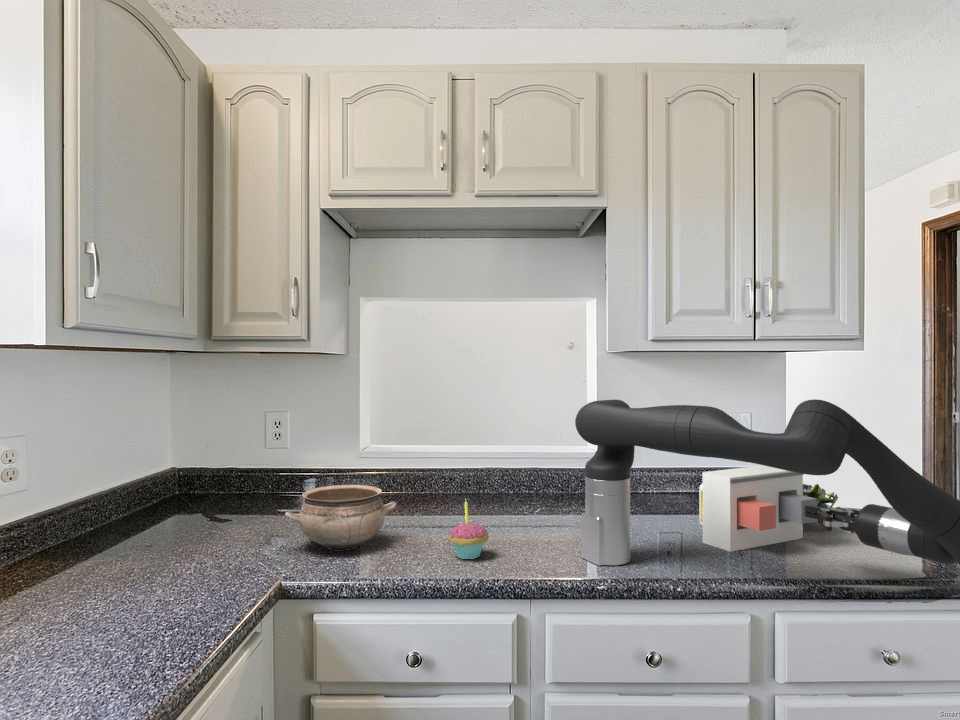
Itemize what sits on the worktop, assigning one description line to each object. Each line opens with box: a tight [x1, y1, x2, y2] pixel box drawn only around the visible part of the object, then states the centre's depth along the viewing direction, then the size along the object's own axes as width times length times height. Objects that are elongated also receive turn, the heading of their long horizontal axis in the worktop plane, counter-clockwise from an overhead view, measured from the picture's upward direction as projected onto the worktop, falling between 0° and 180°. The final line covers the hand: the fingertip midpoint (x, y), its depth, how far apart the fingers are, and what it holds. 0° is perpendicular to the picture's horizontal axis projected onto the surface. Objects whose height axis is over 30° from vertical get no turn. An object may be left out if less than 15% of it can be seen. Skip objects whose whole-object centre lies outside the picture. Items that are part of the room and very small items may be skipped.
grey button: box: [779, 494, 817, 525], centre depth 148 cm, size 5×6×5 cm
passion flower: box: [803, 483, 839, 532], centre depth 163 cm, size 13×12×14 cm
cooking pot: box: [284, 484, 397, 551], centre depth 149 cm, size 25×19×12 cm
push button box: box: [701, 465, 805, 553], centre depth 151 cm, size 23×8×16 cm, turn 116°
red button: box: [737, 499, 776, 531], centre depth 143 cm, size 5×6×5 cm
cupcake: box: [448, 498, 490, 559], centre depth 141 cm, size 9×8×12 cm
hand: (807, 510), depth 132 cm, fingers closed
